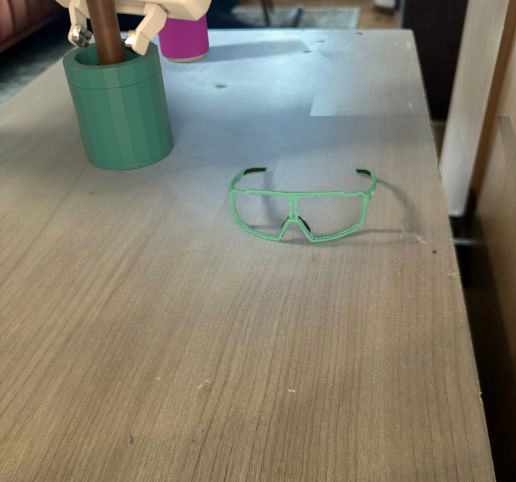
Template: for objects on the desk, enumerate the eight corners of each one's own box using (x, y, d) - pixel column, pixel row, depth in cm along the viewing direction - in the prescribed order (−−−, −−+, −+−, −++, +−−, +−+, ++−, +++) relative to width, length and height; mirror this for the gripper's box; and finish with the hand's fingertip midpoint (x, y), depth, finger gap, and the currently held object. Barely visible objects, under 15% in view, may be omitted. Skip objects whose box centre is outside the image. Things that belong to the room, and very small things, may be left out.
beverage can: (214, 59, 99) (204, -29, 91) (165, 67, 98) (151, -22, 90) (205, 45, 105) (196, -39, 97) (159, 52, 104) (145, -32, 96)
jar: (74, 169, 74) (47, 70, 66) (104, 132, 81) (83, 39, 74) (159, 170, 72) (141, 68, 65) (183, 132, 79) (168, 37, 72)
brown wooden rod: (108, 152, 75) (62, -45, 62) (119, 137, 78) (78, -54, 65) (141, 152, 74) (101, -47, 61) (151, 138, 77) (115, -56, 64)
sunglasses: (217, 243, 59) (212, 192, 56) (248, 182, 71) (245, 137, 68) (372, 249, 57) (375, 195, 54) (376, 184, 69) (379, 138, 66)
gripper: (53, -101, 69) (14, 23, 70) (209, -100, 61) (164, 41, 61) (90, -61, 75) (54, 53, 76) (238, -55, 67) (197, 73, 67)
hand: (105, 48), depth 68 cm, fingers open, 7 cm apart
